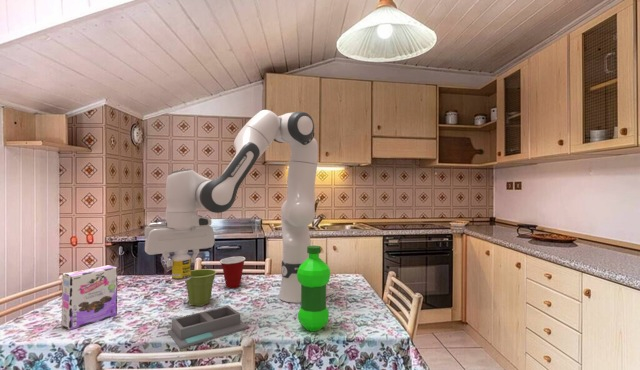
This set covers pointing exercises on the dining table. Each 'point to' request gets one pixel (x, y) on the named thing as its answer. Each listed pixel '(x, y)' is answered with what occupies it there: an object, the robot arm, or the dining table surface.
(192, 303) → the plant pot
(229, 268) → the plastic cup
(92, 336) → the dining table surface
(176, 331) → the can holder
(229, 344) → the dining table surface
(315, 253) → the plastic bottle
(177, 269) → the supplement bottle
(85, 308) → the candy box
